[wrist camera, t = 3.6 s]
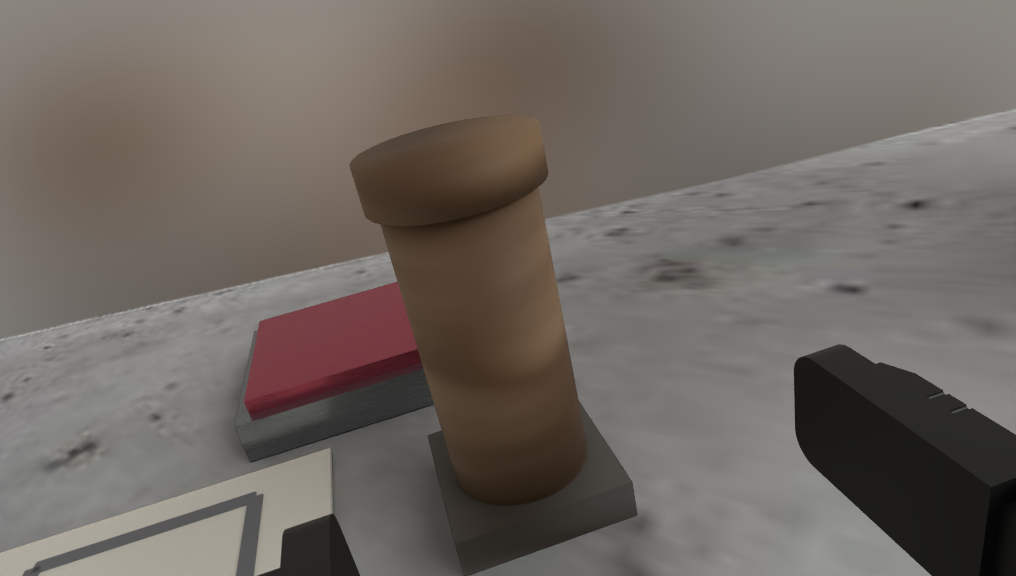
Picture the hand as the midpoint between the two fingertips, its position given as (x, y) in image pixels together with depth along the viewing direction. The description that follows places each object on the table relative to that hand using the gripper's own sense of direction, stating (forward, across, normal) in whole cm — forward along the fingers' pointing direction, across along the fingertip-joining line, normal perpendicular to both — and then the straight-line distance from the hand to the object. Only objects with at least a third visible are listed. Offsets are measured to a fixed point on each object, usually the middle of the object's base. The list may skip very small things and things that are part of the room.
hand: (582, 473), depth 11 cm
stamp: (+8, 0, +6) cm, 10 cm away
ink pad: (+18, +5, +6) cm, 19 cm away
